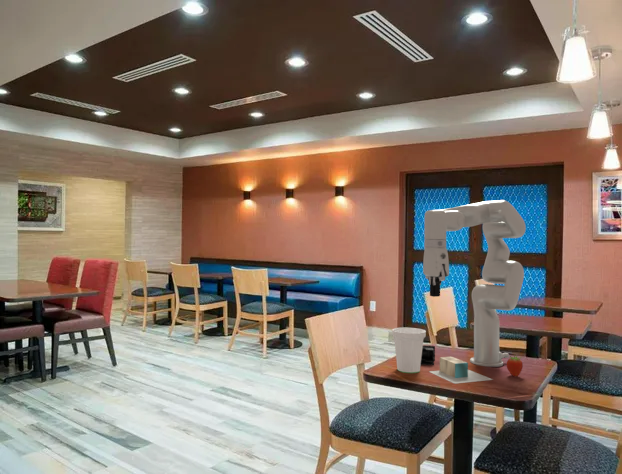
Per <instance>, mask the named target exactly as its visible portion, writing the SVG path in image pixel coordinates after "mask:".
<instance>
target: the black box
mask: <svg viewBox="0 0 622 474" xmlns="http://www.w3.org/2000/svg"><path fill="white" fill-rule="evenodd" d="M435 362H436V346H435V345H423V348H422V356H421V365H420V366H423V365H424V366H435Z"/></svg>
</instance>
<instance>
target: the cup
mask: <svg viewBox="0 0 622 474" xmlns="http://www.w3.org/2000/svg"><path fill="white" fill-rule="evenodd" d="M391 329H392V330H391V331H392V332H391V335H392V336H393V340H394V349H395V350H394V351H395V358H396V368H397V371H399V372H400V373H404V374H416V373H420V372H421V366H422V365H421V356H422V348H423V346H424V339H425V338H426V335H427V334H426V333H427V331H426V329H422V328H416V327H394V328H391Z"/></svg>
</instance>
